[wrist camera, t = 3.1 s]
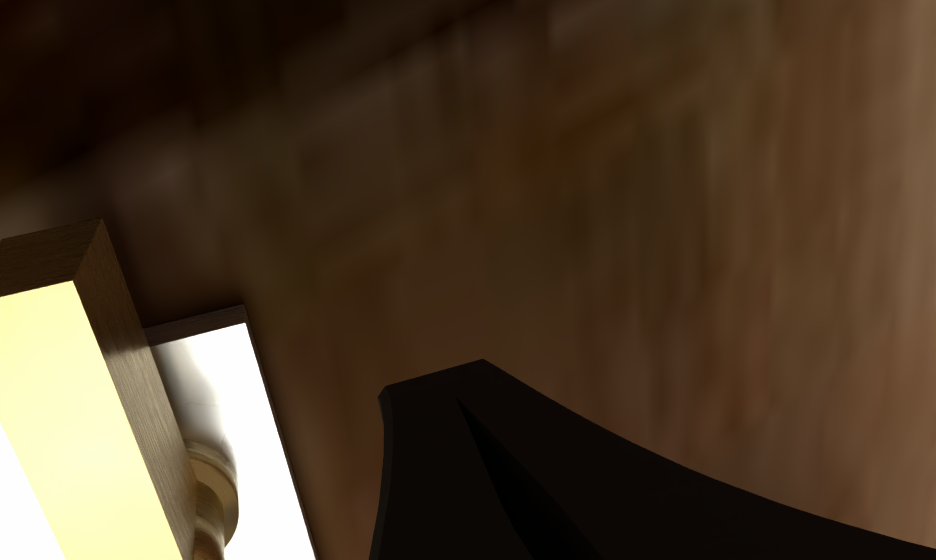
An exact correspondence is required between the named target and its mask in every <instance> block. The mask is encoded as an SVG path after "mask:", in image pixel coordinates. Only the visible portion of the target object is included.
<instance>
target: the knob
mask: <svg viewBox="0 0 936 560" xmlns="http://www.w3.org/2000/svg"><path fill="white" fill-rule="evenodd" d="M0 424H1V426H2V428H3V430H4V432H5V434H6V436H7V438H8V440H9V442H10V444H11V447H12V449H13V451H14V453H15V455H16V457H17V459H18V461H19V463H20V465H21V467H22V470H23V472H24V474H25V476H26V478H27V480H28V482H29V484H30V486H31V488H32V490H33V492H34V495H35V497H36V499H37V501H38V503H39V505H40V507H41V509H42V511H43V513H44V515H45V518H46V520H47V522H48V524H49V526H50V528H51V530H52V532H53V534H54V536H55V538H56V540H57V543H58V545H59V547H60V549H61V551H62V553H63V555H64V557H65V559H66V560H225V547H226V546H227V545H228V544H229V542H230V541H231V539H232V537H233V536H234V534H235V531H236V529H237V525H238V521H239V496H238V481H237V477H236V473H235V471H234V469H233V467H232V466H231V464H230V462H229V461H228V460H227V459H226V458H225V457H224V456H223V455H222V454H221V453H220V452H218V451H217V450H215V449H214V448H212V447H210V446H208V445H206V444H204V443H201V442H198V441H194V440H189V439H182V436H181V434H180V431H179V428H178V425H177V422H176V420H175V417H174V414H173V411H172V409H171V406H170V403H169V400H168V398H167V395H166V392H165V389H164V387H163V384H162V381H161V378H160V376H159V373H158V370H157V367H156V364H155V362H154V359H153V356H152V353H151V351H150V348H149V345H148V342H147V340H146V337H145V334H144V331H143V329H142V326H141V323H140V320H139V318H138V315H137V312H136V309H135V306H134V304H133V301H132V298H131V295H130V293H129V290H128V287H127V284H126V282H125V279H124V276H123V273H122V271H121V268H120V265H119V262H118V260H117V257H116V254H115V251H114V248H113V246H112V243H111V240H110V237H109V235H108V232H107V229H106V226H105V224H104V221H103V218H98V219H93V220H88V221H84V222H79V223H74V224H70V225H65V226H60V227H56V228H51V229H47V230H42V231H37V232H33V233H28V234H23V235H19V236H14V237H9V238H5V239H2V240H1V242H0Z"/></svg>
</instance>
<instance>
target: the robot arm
mask: <svg viewBox="0 0 936 560" xmlns="http://www.w3.org/2000/svg"><path fill="white" fill-rule="evenodd" d="M378 401H379V405H380V410H381V414H382V419H383V423H384V458H383V469H382V479H381V490H380V499H379V507H378V513H377V518H376V524H375V529H374V534H373V540H372V545H371V550H370V556H369V560H936V549H934V548H930V547H926V546H922V545H918V544H914V543H910V542H906V541H902V540H899V539H895V538H892V537H888V536H885V535H881V534H878V533H875V532H871V531H868V530H864V529H861V528H857V527H854V526H850V525H847V524H844V523H840V522H837V521H833V520H830V519H826V518H823V517H820V516H817V515H814V514H811V513H807V512H804V511H801V510H798V509H795V508H792V507H789V506H786V505H783V504H780V503H777V502H775V501H772V500H769V499H766V498H764V497H761V496H758V495H756V494H753V493H750V492H748V491H745V490H742V489H740V488H737V487H734V486H732V485H729V484H726V483H723V482H721V481H718V480H715V479H713V478H710V477H708V476H706V475H703V474H701V473H698V472H696V471H694V470H691V469H689V468H686V467H684V466H682V465H680V464H677V463H675V462H673V461H671V460H669V459H667V458H664V457H662V456H660V455H658V454H656V453H654V452H651V451H649V450H647V449H645V448H643V447H641V446H638V445H636V444H634V443H632V442H630V441H628V440H626V439H624V438H622V437H620V436H618V435H616V434H614V433H612V432H610V431H608V430H606V429H604V428H602V427H601V426H599V425H597V424H595V423H593V422H591V421H589V420H587V419H586V418H584V417H582V416H580V415H578V414H576V413H575V412H573V411H571V410H569V409H567V408H566V407H564V406H562V405H560V404H559V403H557V402H555V401H553V400H552V399H550V398H548V397H546V396H545V395H543V394H541V393H540V392H538V391H536V390H535V389H533V388H531V387H530V386H528V385H526V384H525V383H523V382H521V381H520V380H518V379H516V378H515V377H513V376H511V375H510V374H508V373H506V372H505V371H503V370H501V369H500V368H498V367H496V366H495V365H493V364H491V363H490V362H488V361H486V360H484V359H480V360H477V361H473V362H470V363H466V364H463V365H459V366H455V367H452V368H448V369H445V370H441V371H438V372H434V373H431V374H427V375H423V376H420V377H416V378H413V379H409V380H406V381H402V382H399V383H395V384H391V385H388V386H385V387H384V389H383V390H382V392H381V393H380V395H379V396H378Z"/></svg>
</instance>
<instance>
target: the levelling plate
mask: <svg viewBox="0 0 936 560" xmlns="http://www.w3.org/2000/svg"><path fill="white" fill-rule="evenodd" d="M143 331H144V334H145V337H146V340H147V342H148V345H149V348H150V351H151V353H152V356H153V359H154V362H155V364H156V367H157V370H158V373H159V376H160V378H161V381H162V384H163V387H164V389H165V392H166V395H167V398H168V400H169V403H170V406H171V409H172V411H173V414H174V417H175V420H176V422H177V425H178V428H179V431H180V434H181V436H182V439H189V440H194V441H198V442H201V443H204V444H206V445H208V446H210V447H212V448H214V449H215V450H217V451H218V452H220V453H221V454H222V455H223V456H224V457H225V458H226V459H227V460H228V461H229V462H230V464H231V466H232V467H233V469H234V471H235V473H236V477H237V481H238V496H239V521H238V525H237V529H236V531H235V534H234V536H233V537H232V539H231V541H230V542H229V544H228V545H227V546H226V547H225V560H319V558H318V555H317V551H316V548H315V544H314V541H313V538H312V534H311V531H310V527H309V524H308V521H307V517H306V514H305V510H304V507H303V504H302V500H301V497H300V493H299V490H298V487H297V483H296V480H295V476H294V473H293V470H292V466H291V463H290V459H289V456H288V453H287V449H286V446H285V442H284V439H283V436H282V432H281V429H280V426H279V422H278V419H277V415H276V412H275V409H274V405H273V402H272V398H271V395H270V392H269V388H268V385H267V381H266V378H265V375H264V371H263V368H262V364H261V361H260V358H259V354H258V351H257V347H256V344H255V341H254V337H253V334H252V330H251V327H250V324H249V320H248V317H247V313H246V310H245V307H244V304H241V305H237V306H233V307H229V308H225V309H221V310H217V311H213V312H209V313H205V314H201V315H197V316H193V317H188V318H184V319H180V320H176V321H172V322H168V323H164V324H160V325H156V326H152V327H148V328H144V329H143ZM0 560H66V559H65V557H64V555H63V553H62V551H61V549H60V547H59V545H58V543H57V540H56V538H55V536H54V534H53V532H52V530H51V528H50V526H49V524H48V522H47V520H46V518H45V515H44V513H43V511H42V509H41V507H40V505H39V503H38V501H37V499H36V497H35V495H34V492H33V490H32V488H31V486H30V484H29V482H28V480H27V478H26V476H25V474H24V472H23V470H22V467H21V465H20V463H19V461H18V459H17V457H16V455H15V453H14V451H13V449H12V447H11V444H10V442H9V440H8V438H7V436H6V434H5V432H4V430H3V428H2V426H1V424H0Z"/></svg>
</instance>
